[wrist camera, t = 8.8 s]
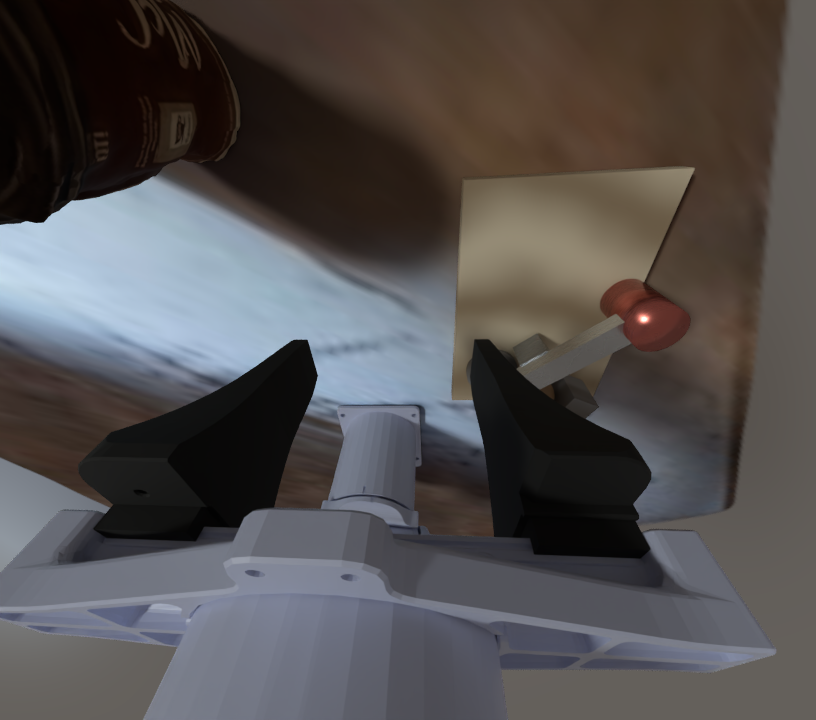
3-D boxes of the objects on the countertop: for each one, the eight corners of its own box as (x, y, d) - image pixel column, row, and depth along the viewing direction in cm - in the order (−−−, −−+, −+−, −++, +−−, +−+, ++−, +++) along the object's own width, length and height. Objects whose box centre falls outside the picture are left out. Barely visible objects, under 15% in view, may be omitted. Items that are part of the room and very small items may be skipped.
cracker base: (582, 402, 28) (602, 438, 24) (451, 403, 29) (454, 438, 25) (682, 166, 17) (744, 174, 13) (462, 177, 17) (470, 188, 14)
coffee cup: (213, 217, 19) (-28, 317, 9) (64, 88, 16) (-611, 12, 6) (291, 98, 16) (30, 37, 5) (119, -107, 12) (-1687, -1495, 2)
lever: (485, 390, 26) (494, 429, 22) (465, 369, 24) (471, 407, 21) (651, 300, 20) (696, 334, 17) (636, 267, 19) (681, 296, 15)
